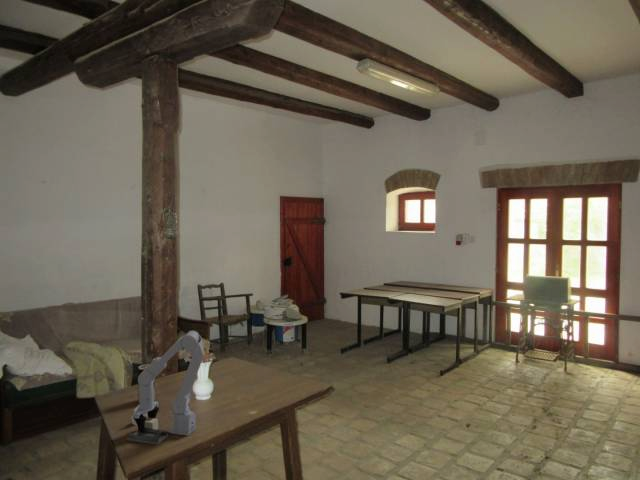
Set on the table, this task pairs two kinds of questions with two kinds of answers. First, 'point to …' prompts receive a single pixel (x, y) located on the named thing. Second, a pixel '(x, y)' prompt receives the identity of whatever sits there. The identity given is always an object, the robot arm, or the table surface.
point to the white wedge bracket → (135, 412)
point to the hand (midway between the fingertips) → (146, 427)
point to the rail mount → (148, 436)
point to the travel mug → (141, 369)
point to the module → (151, 423)
